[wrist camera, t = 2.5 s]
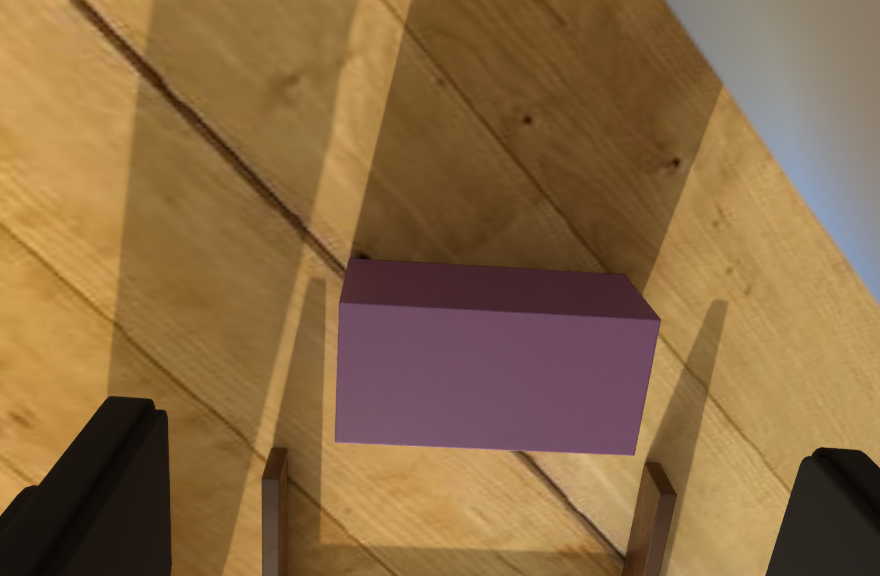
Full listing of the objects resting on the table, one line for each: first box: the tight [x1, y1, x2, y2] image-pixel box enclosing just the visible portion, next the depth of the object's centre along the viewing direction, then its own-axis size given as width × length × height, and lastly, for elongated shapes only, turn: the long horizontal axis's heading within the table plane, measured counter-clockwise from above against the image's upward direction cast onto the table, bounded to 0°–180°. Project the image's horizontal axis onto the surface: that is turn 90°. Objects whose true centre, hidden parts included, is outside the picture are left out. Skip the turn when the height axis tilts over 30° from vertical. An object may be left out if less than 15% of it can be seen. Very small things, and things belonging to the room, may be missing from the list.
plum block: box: [335, 258, 661, 456], centre depth 31 cm, size 6×12×5 cm, turn 86°
